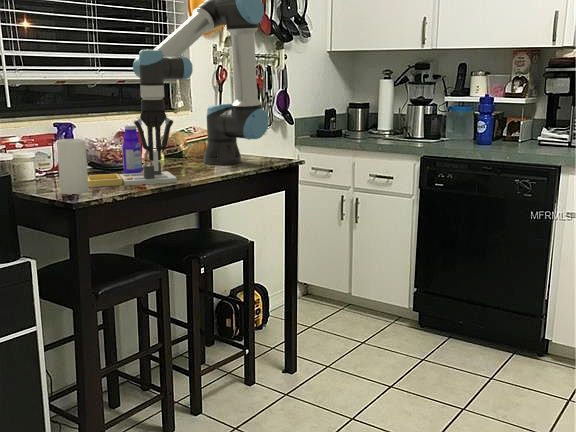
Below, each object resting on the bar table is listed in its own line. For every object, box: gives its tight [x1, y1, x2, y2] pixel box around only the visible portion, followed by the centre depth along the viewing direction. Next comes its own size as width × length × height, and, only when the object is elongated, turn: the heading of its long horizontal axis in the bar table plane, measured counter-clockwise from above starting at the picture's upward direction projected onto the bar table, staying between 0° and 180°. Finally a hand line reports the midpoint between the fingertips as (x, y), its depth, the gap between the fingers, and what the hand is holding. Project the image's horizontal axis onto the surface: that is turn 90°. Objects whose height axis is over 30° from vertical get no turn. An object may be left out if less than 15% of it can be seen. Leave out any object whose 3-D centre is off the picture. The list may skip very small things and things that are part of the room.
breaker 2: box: [149, 160, 162, 174], centre depth 216 cm, size 3×3×4 cm
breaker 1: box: [142, 164, 154, 179], centre depth 208 cm, size 3×3×4 cm
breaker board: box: [118, 171, 178, 187], centre depth 213 cm, size 17×14×2 cm
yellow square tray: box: [88, 173, 123, 188], centre depth 207 cm, size 11×11×2 cm
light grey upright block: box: [56, 138, 90, 196], centre depth 191 cm, size 8×8×16 cm
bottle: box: [122, 124, 143, 174], centre depth 223 cm, size 7×6×17 cm
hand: (155, 170), depth 209 cm, fingers closed
